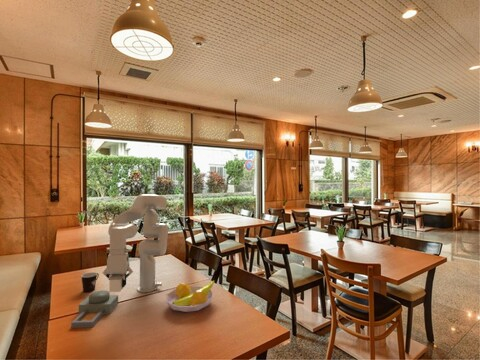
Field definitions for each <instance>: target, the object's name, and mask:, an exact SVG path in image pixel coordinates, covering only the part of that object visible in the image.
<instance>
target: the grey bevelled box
mask: <svg viewBox="0 0 480 360" xmlns="http://www.w3.org/2000/svg"><path fill="white" fill-rule="evenodd" d="M122 280H123V278H122V274H113V275H112V276H111V277H110V285H109V292H110V293H117V292H118V293H120V292H121V291H122V290H123V288H125V286H124V287H123V288H122Z"/></svg>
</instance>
